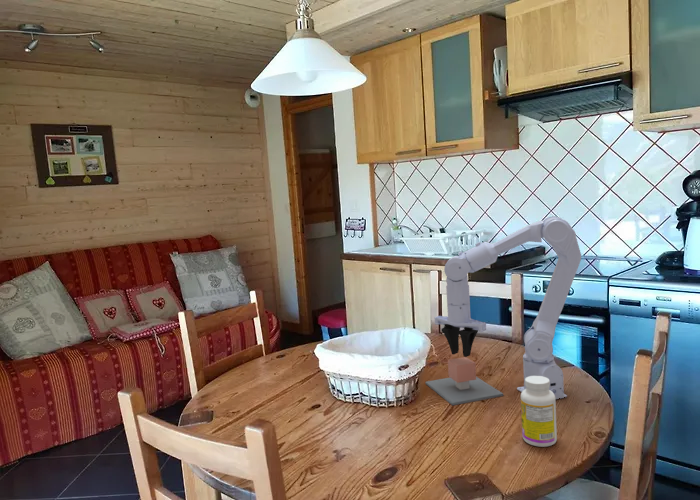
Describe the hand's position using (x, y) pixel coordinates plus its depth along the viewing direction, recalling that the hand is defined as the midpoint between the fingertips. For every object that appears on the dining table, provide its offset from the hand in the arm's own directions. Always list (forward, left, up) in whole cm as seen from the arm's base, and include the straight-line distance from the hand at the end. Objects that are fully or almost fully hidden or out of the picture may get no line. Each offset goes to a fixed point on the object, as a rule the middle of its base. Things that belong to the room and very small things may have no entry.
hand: (461, 354), depth 134 cm
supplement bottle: (-31, -1, -10) cm, 33 cm away
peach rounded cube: (0, 0, -6) cm, 6 cm away
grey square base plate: (0, 0, -9) cm, 9 cm away
